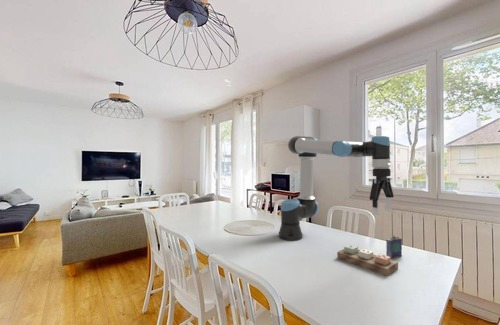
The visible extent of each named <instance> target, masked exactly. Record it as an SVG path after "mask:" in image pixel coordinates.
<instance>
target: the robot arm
mask: <svg viewBox="0 0 500 325" xmlns="http://www.w3.org/2000/svg"><path fill="white" fill-rule="evenodd" d="M287 147H288V150H289V151H290V153H293V154H295V155H298V158H299V159H300V172H299V173H300V177H299V178H300V179H299V180H300V181H299V195H298V196H297V198H291V199H290V198H289V199H285V200H283V201H281V203H280V204H281V205H280V210H281V212H280V218H281V219H280V222H281V224H280V228H279V231H278V238H279V239H281V240H286V241H299V240H302V239H303V236H304V235H303V231H302V228H301V225H300V220H302V219H309V218H313V217H315V216H317V214H318V213H319V206H320V205H319V203H318V202H317V200H316V197H315V196H314V176H315V175H314V174H315V173H314V169H315V168H314V166H315V159H316V158H317V155H318V154H319V155H327V156H328V155H329V156H337V157H340V158H344V157H352V158H362V157H366V158H367V157H371V159H372V160H371V162H372V163H371V164H372V165H371V166H372V168H373V169H372V177H375V178H372V179H371V180H372V184H371V189H370V195H369V201H371V202H372V205H371V207H372V210H371V211H372V215H376V216H380V200H379V198H380V195H381V192H382V190H383V193H384V211H386V212H387V211H389V212H392V211H393V210H392V207H393V206H392V204H393V203H392V198H394V197H395V196H394V191H393V187H392V184H391V163H392V161H391V144H390V137H389V136H388V135H374V136H372V137H371V140H370V141H349V140H348V141H347V140H325V139H324V140H323V139H321V140H320V139H318V138H316V137H313V136H300V135H297V136H292V137H291V138H290V139H289V140H288V144H287Z"/></svg>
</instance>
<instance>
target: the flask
mask: <svg viewBox="0 0 500 325" xmlns="http://www.w3.org/2000/svg"><path fill="white" fill-rule="evenodd" d="M402 242H403V238H401V237H400V236H399V237H398V236H396V235H395V234H391V237H390V238H386V245H385V246H386V254H385V255H386V256H389V257H391V259H393V258H398V257H399V258H400V257H402V256H403V255H402V251H403V250H402V249H403V247H402V246H403V245H402Z"/></svg>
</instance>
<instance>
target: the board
mask: <svg viewBox="0 0 500 325" xmlns="http://www.w3.org/2000/svg"><path fill="white" fill-rule="evenodd" d="M359 251H360V249H358V252H357V253H355V254H350V253H347V252H344V248H343V249H342V250H338V251H337V254H336V256H337V259H339V260H342V261H344V262H348V263H350V264H353V265H355V266H358V267H361V268H363V269H366V270H369V271H371V272H375V273H378V274H379V275H382V276H386V277H388V276H389V275H391V274H392V273H394V272H395V271H397V270H398V269H399V261H395V260H392V259H391V263H389V264H388V265H383V264H380V263H377V262H375V256H377V255H378V254H374V253H373V258H371V259H369V260H368V259H365V258H362V257H359Z"/></svg>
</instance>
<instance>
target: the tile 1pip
mask: <svg viewBox="0 0 500 325" xmlns="http://www.w3.org/2000/svg"><path fill="white" fill-rule="evenodd" d="M343 249H344V252H347V253H350V254H355V253H357V252H358V250H359V249H358V246H355V245H352V244H347V245H345V246H344V247H343Z"/></svg>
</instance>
